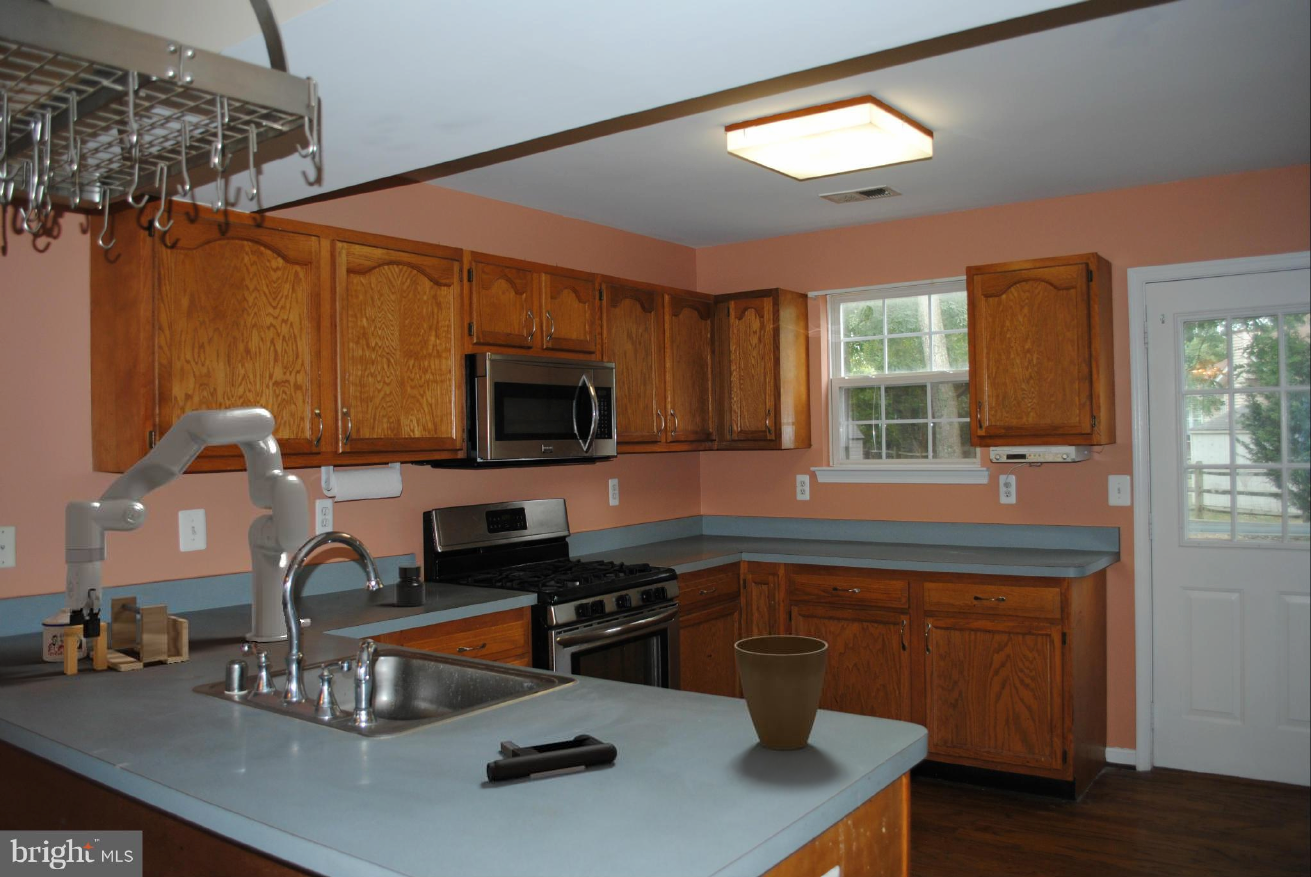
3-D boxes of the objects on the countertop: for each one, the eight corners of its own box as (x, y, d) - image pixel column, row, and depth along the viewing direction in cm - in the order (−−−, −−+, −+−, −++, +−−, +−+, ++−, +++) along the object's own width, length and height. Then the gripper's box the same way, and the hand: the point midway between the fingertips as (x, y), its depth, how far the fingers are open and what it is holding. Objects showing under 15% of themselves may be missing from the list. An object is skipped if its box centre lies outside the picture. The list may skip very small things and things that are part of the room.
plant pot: (777, 724, 164) (776, 631, 164) (848, 744, 153) (847, 643, 153) (716, 742, 154) (715, 643, 154) (786, 765, 143) (785, 657, 143)
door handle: (463, 742, 149) (493, 765, 135) (583, 725, 158) (622, 745, 144) (464, 764, 149) (493, 789, 134) (584, 745, 158) (623, 767, 143)
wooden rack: (89, 657, 224) (89, 600, 224) (153, 647, 234) (153, 593, 234) (121, 671, 209) (121, 610, 209) (188, 660, 219) (188, 603, 219)
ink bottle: (427, 602, 301) (426, 564, 301) (425, 606, 292) (424, 567, 292) (395, 603, 299) (394, 564, 299) (392, 607, 291) (392, 568, 291)
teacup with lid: (43, 664, 217) (43, 613, 217) (40, 657, 224) (40, 607, 224) (103, 657, 224) (104, 607, 224) (99, 650, 231) (99, 602, 231)
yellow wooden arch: (102, 666, 214) (102, 622, 214) (106, 668, 212) (106, 623, 212) (63, 672, 208) (63, 627, 208) (67, 674, 206) (67, 628, 206)
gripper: (54, 555, 213) (53, 632, 213) (77, 560, 201) (77, 642, 201) (91, 552, 219) (91, 627, 219) (116, 557, 207) (116, 637, 207)
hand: (84, 634), depth 210 cm, fingers open, 9 cm apart
